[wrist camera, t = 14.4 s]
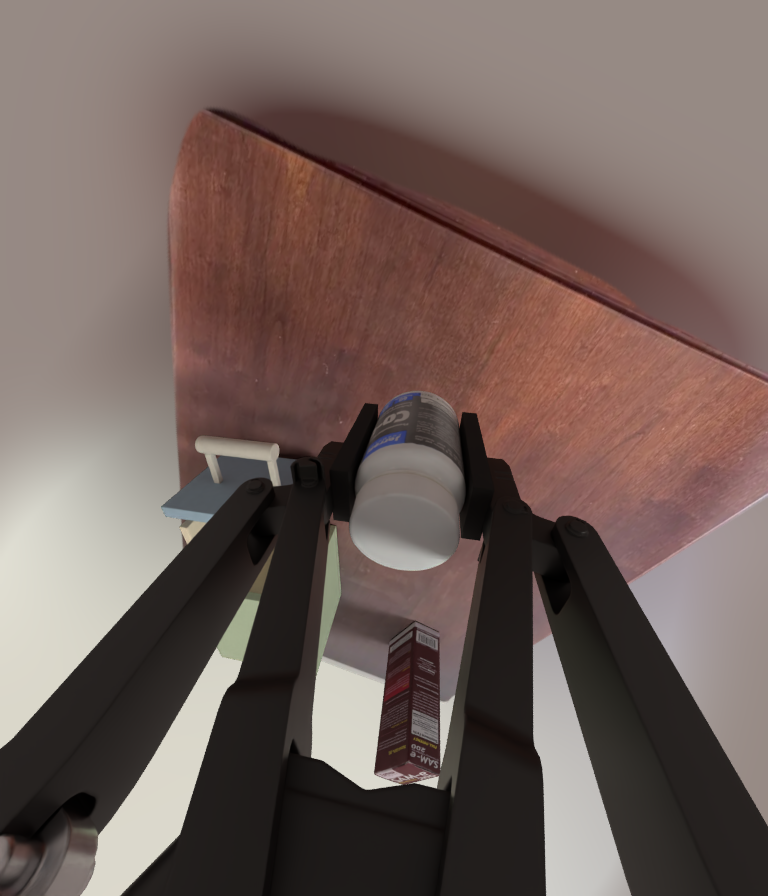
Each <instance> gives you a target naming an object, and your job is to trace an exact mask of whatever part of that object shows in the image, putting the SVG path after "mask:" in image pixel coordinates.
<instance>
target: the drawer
mask: <svg viewBox="0 0 768 896" xmlns="http://www.w3.org/2000/svg"><path fill="white" fill-rule="evenodd" d="M195 448H196V450H197V451H198V452H199V453H205V457H206V460H207V463H208V467H207V468H206V469H205V470H204V471H202V472H201V473H200V474H199V475H198V476H197V477H195V478H194V479H193V480H192V481H191V482H190V483H188V484H187V485H186V486H185V487H184V488H182V489H181V490H180V491H179V492H178V493H177V494H176V495H174V496H173V497H172V498H171V499H170V500H168V501H167V502H166V503H165V504H164V505H163V506H161V508H162V510H163V512H164V514H165V516H166V517H172V518H179V519H185V520H186V521H185V522H184V523H183V524H182V525H181V526H180V530H181V532H182V534H183V536H184V538H185V540H186V542H187V544H188V543H189V542H190V541H191V540H192V539H193V537H194V536H195V535H196V534H197V533H198V532H199V531H200V530H201V529H202V527H203V526H204V525H205V524H206V523H207V522H208V521H209V520H210V518H211V517H212V516H213V515H214V514H215V513H216V512H217V511H218V510H219V508H220V507H221V506H222V505H223V504H224V503H225V502H226V501H227V500H228V498H229V497H230V496H231V495H232V494H233V493H234V492H235V491H236V490H237V488H238V487H239V486H240V485H241V484H243V483H244V482H245V481H248V480H250V479H253V478H258V477H264V478H267V479H270V480H271V481H272V483H273V486H283V485H290V484H293V480H292V474H291V468H290V466H291V464H292V463H293V462H294V461H295V460H296V459H288V458H279V457H278V456H279V446H278V444H276V443H268V442H259V441H250V440H242V439H233V438H224V437H215V436H206V435H201V436H199V437H198V438H197V440H196V442H195ZM215 455H221V456H220V457H219V458H218V459H216V456H215ZM273 552H274V549H273V551H272V553H271V555H270V556H269V558H268V560H267V562H266V563H265V565H264V567H263V568H262V570H261V572H260V574H259V575H258V577H257V579H256V580H255V582H254V584H253V586H252V587H251V589H250V591H249V592H253V593H258V594H262V591H263V587H264V583H265V580H266V576H267V573H268V569H269V566H270V562H271V559H272V555H273Z"/></svg>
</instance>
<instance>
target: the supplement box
mask: <svg viewBox="0 0 768 896" xmlns="http://www.w3.org/2000/svg"><path fill="white" fill-rule="evenodd" d="M439 665H440V662H439V632H437V631H435V630H433V629H431V628H429V627H426V626H424V625H422V624H420V623H418V622H414V623H413V624H412V625H410V626H409V627H408V628H407V629H405V630H404V631H403V632H401V633H400V634H399V635H398V636H396V637H395V638H394V639H392V640H391V641H390V644H389V654H388V662H387V670H386V679H385V688H384V696H383V704H382V714H381V721H380V729H379V737H378V747H377V755H376V762H375V770H374V774H375V775H377V776H379V777H382V778H384V779H387V780H390V781H393V782H396V783H399V784H402V785H405V784H409V783H413V782H417V781H421V780H425V779H429V778H433V777H437V776H439V775H440V666H439Z"/></svg>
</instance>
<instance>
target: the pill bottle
mask: <svg viewBox="0 0 768 896" xmlns="http://www.w3.org/2000/svg"><path fill="white" fill-rule="evenodd" d="M355 495H356V499H355V502H354V506H353V510H352V514H351V517H350V521H349V531H350V535H351V538H352V540H353V542H354V544H355V545H356V546H357V548H358V549H359V550H360V551H361V552H362V553H363V554H364V555H365V556H367V557H368V558H369V559H371V560H373V561H375V562H376V563H378V564H381V565H383V566H386V567H390V568H394V569H398V570H409V571H413V570H415V571H416V570H424V569H429V568H432V567H435V566H437V565H440V564H442V563H443V562H445V561H446V560H448V559H449V558H450V557H451V556H452V555H453V554H454V552H455V551H456V549H457V547H458V544H459V538H460V528H459V513H460V512H461V510H462V508H463V505H464V502H465V497H466V483H465V473H464V465H463V456H462V448H461V439H460V430H459V423H458V419H457V416H456V414H455V411H454V410H453V408H452V407H451V406H450V405H449V404H448V403H447V402H446V401H445V400H444V399H442V398H441V397H439V396H437V395H435V394H433V393H430V392H424V391H410V392H406V393H402V394H400V395H398V396H396V397H394V398H393V399H392V400H390V401H389V402H388V403H387V404H386V405H385V407H384V408H383V410H382V411H381V413H380V415H379V417H378V420H377V423H376V425H375V428H374V430H373V432H372V435H371V437H370V440H369V443H368V445H367V448H366V451H365V453H364V455H363V458H362V460H361V462H360V465H359V467H358V470H357V474H356V478H355Z"/></svg>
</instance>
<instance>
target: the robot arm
mask: <svg viewBox="0 0 768 896" xmlns="http://www.w3.org/2000/svg"><path fill="white" fill-rule="evenodd" d="M377 420H378V404H368V403H365V404H364V406H363V408H362V410H361V412H360V414H359V415H358V417H357V419H356V421H355V423H354V425H353V427H352V428H351V430H350V432H349V434H348V436H347V438H346V440H345V441H344V443H342V442H333V441H331V442H330V443H328V444H327V445H325V446H324V447H323V449H322V450H321V452H320V454H319V455H318V457H310V456H309V457H302V458H299V459H297V460H295V461H294V462H293V463H292V464H291V466H290V468H291V474H292V480H293V484H290V485H283V486H273V483H272V481H271V480H270V479H267V478H264V477H258V478H253V479H250V480H248V481H245V482H244V483H243V484H241V485H240V486H239V487H238V488H237V490H236V491H235V492H234V493H233V494H232V495H231V496H230V497H229V498H228V500H227V501H226V502H225V503H224V504H223V505H222V506H221V507H220V508H219V510H218V511H217V512H216V513H215V514H214V515H213V516H212V517H211V518H210V520H209V521H208V522H207V523H206V524H205V525H204V526H203V527H202V529H201V530H200V531H199V532H198V533H197V534H196V535H195V536H194V537H193V539H192V540H191V541H190V542H189V543H188V544H187V545H186V546H185V547H184V549H183V550H182V551H181V552H180V553H179V554H178V555H177V556H176V557H175V559H174V560H173V561H172V562H171V563H170V564H169V565H168V566H167V568H166V569H165V570H164V571H163V572H162V573H161V574H160V575H159V576H158V577H157V579H156V580H155V581H154V582H153V583H152V584H151V585H150V586H149V588H148V589H147V590H146V591H145V592H144V593H143V594H142V595H141V596H140V598H139V599H138V600H137V601H136V602H135V603H134V604H133V605H132V606H131V608H130V609H129V610H128V611H127V612H126V613H125V614H124V615H123V616H122V618H121V619H120V620H119V621H118V622H117V623H116V624H115V625H114V626H113V628H112V629H111V630H110V631H109V632H108V633H107V634H106V635H105V636H104V638H103V639H102V640H101V641H100V642H99V643H98V644H97V646H95V648H94V649H93V650H92V651H91V652H90V653H89V654H88V655H87V656H86V658H85V659H84V660H83V661H82V662H81V663H80V664H79V665H78V667H77V668H76V669H75V670H74V671H73V672H72V673H71V674H70V675H69V677H68V678H67V679H66V680H65V681H64V682H63V683H62V684H61V685H60V687H59V688H58V689H57V690H56V691H55V692H54V693H53V694H52V695H51V697H50V698H49V699H48V700H47V701H46V702H45V703H44V704H43V705H42V707H41V708H40V709H39V710H38V711H37V712H36V713H35V714H34V716H33V717H32V718H31V719H30V720H29V721H28V722H27V723H26V724H25V725H24V727H23V728H22V729H21V730H20V731H19V732H18V733H17V735H16V736H15V737H14V738H13V739H12V740H11V741H9V742H8V743H7V744H6V745H5V746H3V747H2V748H1V749H0V896H80V895H81V894H82V892H83V891H84V890H85V888H86V887H87V885H88V883H89V881H90V879H91V877H92V875H93V871H94V867H95V855H96V851H97V846H98V835H99V834H100V832H101V831H102V830H103V829H104V827H105V826H106V825H107V824H108V822H109V821H110V820H111V819H112V817H113V816H114V814H115V813H116V812H117V810H118V809H119V807H120V806H121V804H122V803H123V802H124V800H125V799H126V797H127V796H128V794H129V793H130V792H131V790H132V789H133V788H134V786H135V784H136V783H137V781H138V780H139V778H140V777H141V775H142V773H143V772H144V770H145V769H146V767H147V765H148V764H149V762H150V761H151V759H152V757H153V756H154V754H155V752H156V751H157V749H158V747H159V745H160V744H161V742H162V740H163V738H164V737H165V735H166V733H167V732H168V730H169V728H170V727H171V725H172V723H173V721H174V720H175V718H176V716H177V715H178V713H179V711H180V709H181V708H182V706H183V704H184V703H185V701H186V699H187V697H188V696H189V694H190V692H191V690H192V689H193V687H194V685H195V684H196V682H197V680H198V678H199V676H200V675H201V673H202V672H203V670H204V668H205V666H206V665H207V663H208V661H209V659H210V657H211V656H212V654H213V653H214V651H215V649H216V647H217V646H218V644H219V642H220V641H221V639H222V637H223V635H224V634H225V632H226V630H227V629H228V627H229V625H230V623H231V622H232V620H233V618H234V617H235V615H236V613H237V611H238V610H239V608H240V606H241V604H242V603H243V601H244V599H245V598H246V596H247V594H248V592H249V591H250V589H251V587H252V586H253V584H254V582H255V580H256V579H257V577H258V575H259V574H260V572H261V570H262V568H263V567H264V565H265V563H266V562H267V560H268V558H269V556H270V555H271V553H272V551H273V549H274V552H273V555H272V559H271V562H270V566H269V569H268V573H267V576H266V580H265V583H264V587H263V591H262V594H261V598H260V601H259V605H258V608H257V612H256V615H255V619H254V622H253V626H252V629H251V633H250V637H249V640H248V644H247V647H246V651H245V654H244V658H243V661H242V665H241V668H240V672H239V675H238V678H237V680H236V681H235V683H234V684H232V685H231V686H230V687H229V688H228V689H227V691H226V692H225V695H224V696H223V699H222V701H221V704H220V707H219V709H218V712H217V716H216V719H215V722H214V725H213V729H212V732H211V735H210V739H209V742H208V745H207V748H206V752H205V755H204V759H203V761H202V765H201V768H200V772H199V775H198V778H197V781H196V784H195V788H194V791H193V794H192V798H191V801H190V804H189V807H188V811H187V814H186V817H185V820H184V824H183V827H182V830H181V833H180V835H179V836H178V837H177V838H176V839H175V840H174V841H173V842H172V843H171V844H170V845H169V846H168V848H166V850H165V851H164V852H163V853H162V854H161V855H160V856H159V857H158V858H157V859H156V860H155V861H154V862H153V863H152V864H151V865H150V866H149V867H148V868H147V869H146V870H145V871H144V872H143V873H142V874H141V875H140V876H139V877H138V878H137V879H136V880H135V881H134V882H133V883H132V884H131V885H130V886H129V887H128V888H127V889H126V890H125V891H124V893H122V895H121V896H546V877H545V834H544V797H543V795H544V793H543V774H542V766H541V761H540V757H539V755H538V753H537V751H536V749H535V747H534V741H533V577H532V571H534V574H535V578H536V581H537V584H538V588H539V591H540V594H541V598H542V601H543V604H544V608H545V611H546V614H547V617H548V621H549V624H550V627H551V631H552V634H553V637H554V641H555V644H556V647H557V651H558V654H559V657H560V661H561V664H562V667H563V671H564V674H565V677H566V680H567V684H568V687H569V690H570V694H571V697H572V700H573V704H574V707H575V710H576V714H577V717H578V721H579V724H580V727H581V730H582V734H583V737H584V741H585V744H586V747H587V751H588V754H589V757H590V760H591V764H592V767H593V770H594V774H595V777H596V780H597V783H598V787H599V790H600V794H601V797H602V800H603V804H604V807H605V810H606V814H607V817H608V820H609V824H610V827H611V830H612V834H613V837H614V840H615V844H616V846H617V850H618V853H619V857H620V860H621V864H622V867H623V870H624V873H625V877H626V880H627V883H628V886H629V889H630V892H631V895H632V896H768V826H767V824H766V822H765V821H764V819H763V817H762V816H761V814H760V812H759V810H758V809H757V807H756V805H755V804H754V802H753V800H752V798H751V797H750V795H749V793H748V791H747V790H746V788H745V787H744V785H743V783H742V781H741V780H740V778H739V776H738V774H737V773H736V771H735V769H734V767H733V766H732V764H731V762H730V760H729V759H728V757H727V755H726V754H725V752H724V750H723V749H722V747H721V745H720V743H719V741H718V740H717V738H716V736H715V735H714V733H713V731H712V729H711V728H710V726H709V724H708V722H707V721H706V719H705V717H704V716H703V714H702V712H701V710H700V709H699V707H698V706H697V704H696V702H695V700H694V699H693V697H692V695H691V693H690V691H689V690H688V688H687V686H686V685H685V683H684V681H683V680H682V678H681V676H680V674H679V672H678V671H677V669H676V667H675V666H674V664H673V662H672V661H671V659H670V657H669V655H668V654H667V652H666V650H665V648H664V647H663V645H662V643H661V641H660V640H659V638H658V636H657V635H656V633H655V631H654V630H653V628H652V626H651V624H650V623H649V621H648V619H647V617H646V616H645V614H644V612H643V611H642V609H641V607H640V606H639V604H638V602H637V600H636V598H635V597H634V595H633V593H632V592H631V590H630V588H629V586H628V585H627V583H626V581H625V579H624V578H623V576H622V574H621V573H620V571H619V569H618V567H617V566H616V564H615V562H614V560H613V559H612V557H611V555H610V554H609V552H608V550H607V548H606V547H605V545H604V543H603V542H602V540H601V538H600V536H599V535H598V533H597V531H596V530H595V529H594V528H593V527H592V526H591V525H590V524H588V523H587V522H586V521H584V520H581V519H579V518H577V517H573V516H561V517H559V518H558V519H557V520H556V522H552V521H550V520H547V519H544V518H541V517H539V516H536V515H535V514H533V513H532V511H531V508H530V507H529V506H528V505H527V503H525V502H524V501H522V500H521V499H520V496H519V493H518V490H517V487H516V484H515V481H514V478H513V475H512V472H511V469H510V466H509V465H508V464H507V463H506V462H505V461H504V460H503V459H495V458H487V455H486V451H485V447H484V443H483V439H482V434H481V430H480V426H479V422H478V418H477V413H466V412H462V418H461V423H460V428H459V430H460V439H461V448H462V456H463V465H464V473H465V483H466V497H465V502H464V505H463V508H462V510H461V512H460V513H459V516H460V529H461V538H465V539H472V540H479V541H480V538H481V535H482V532H483V538H484V541H483V544H482V548H481V551H480V554H479V557H478V561H479V564H478V569H477V575H476V581H475V586H474V592H473V598H472V603H471V609H470V615H469V620H468V626H467V632H466V637H465V643H464V649H463V654H462V660H461V665H460V671H459V677H458V682H457V688H456V694H455V700H454V705H453V711H452V716H451V722H450V728H449V733H448V739H447V745H446V749H445V754H444V758H443V762H442V766H441V770H440V775H439V780H438V785H437V789H436V788H432V787H428V786H424V785H420V784H415V783H413V784H406V785H399V786H392V787H386V788H379V789H372V790H365V789H362V788H361V787H359V786H358V785H356V784H355V783H354V782H352V781H351V780H349V779H348V778H346V777H345V776H344V775H342V774H341V773H339V772H338V771H337V770H335V769H333V768H332V767H331V766H329V765H328V764H327V763H325V762H324V761H322V760H318V759H314V758H311V750H312V711H313V701H314V690H315V680H316V669H317V659H318V649H319V638H320V628H321V617H322V607H323V597H324V586H325V576H326V565H327V555H328V544H329V534H330V520H329V519H330V517H331V514H332V512H333V518H334V520H338V521H345V522H349V521H350V517H351V514H352V510H353V506H354V502H355V499H356V495H355V478H356V474H357V470H358V467H359V465H360V462H361V460H362V458H363V455H364V453H365V451H366V448H367V445H368V443H369V440H370V437H371V435H372V432H373V430H374V428H375V425H376V423H377Z"/></svg>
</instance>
